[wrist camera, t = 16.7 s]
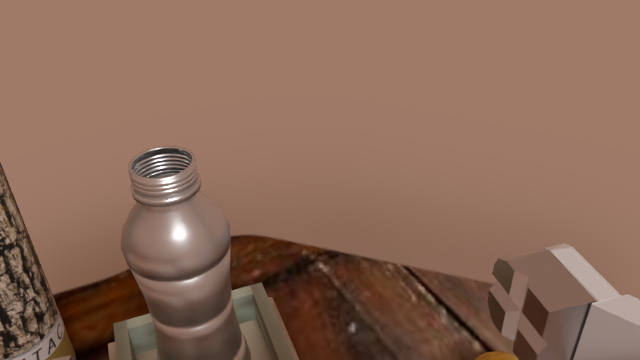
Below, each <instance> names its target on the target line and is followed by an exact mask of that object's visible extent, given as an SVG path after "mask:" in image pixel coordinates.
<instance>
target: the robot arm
mask: <svg viewBox="0 0 640 360" xmlns="http://www.w3.org/2000/svg"><path fill="white" fill-rule="evenodd" d="M492 274H493V275H494V276H495V278H496V279H497V281H496V283H495V284H494V285H493V286H492V287H491V288H490V290H489V296H488V306H489V311H490V315H491V318H492V320H493V322H494V324H495V326H496V327H497V329H498V330H499V332H500V333H501V334H502V335H503V336H505V337H507V338H509V339H511V340H513V341H514V345H513V352H514V353H515V355H516V356H517V358H518V359H519V360H640V299H638V298H635V297H633V296H631V295H628V294H627V295H622V296H621V295H620V294H619V293H618V292H617V291H616V290H615V289H614V288H613V287H612V286H611V285H610V284H609V283H608V282H607V281H606V280H605V279H604V278H603V277H602V276H601V275H600V274H599V273H598V272H597V271H596V270H595V269H594V268H593V267H592V266H591V265H590V264H589V263H588V262H587V261H586V260H585V259H584V258H583V257H582V256H581V255H580V254H579V253H578V252H577V251H576V250H575V249H574V248H573V247H572V246H570V245H568V244H565V243H564V244H560V245H555V246H551V247H547V248H543V249H538V250H534V251H530V252H525V253H521V254H517V255H513V256H509V257H504V258H500V259H498V260H497V261H496V263H495V264H494V269H493V273H492ZM50 360H76V358H75V356H71V355H70V356H65V357H60V358H55V359H50Z"/></svg>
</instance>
